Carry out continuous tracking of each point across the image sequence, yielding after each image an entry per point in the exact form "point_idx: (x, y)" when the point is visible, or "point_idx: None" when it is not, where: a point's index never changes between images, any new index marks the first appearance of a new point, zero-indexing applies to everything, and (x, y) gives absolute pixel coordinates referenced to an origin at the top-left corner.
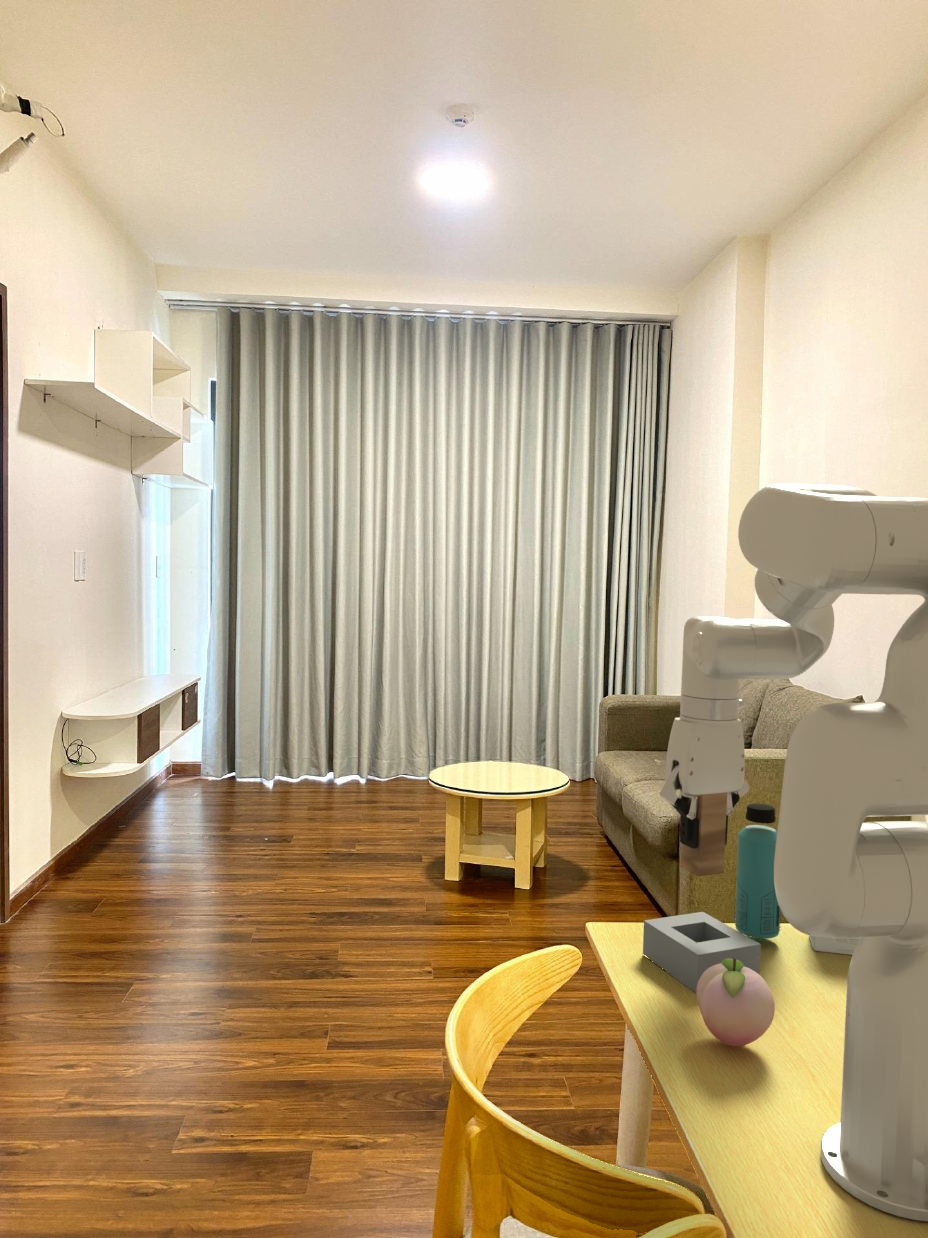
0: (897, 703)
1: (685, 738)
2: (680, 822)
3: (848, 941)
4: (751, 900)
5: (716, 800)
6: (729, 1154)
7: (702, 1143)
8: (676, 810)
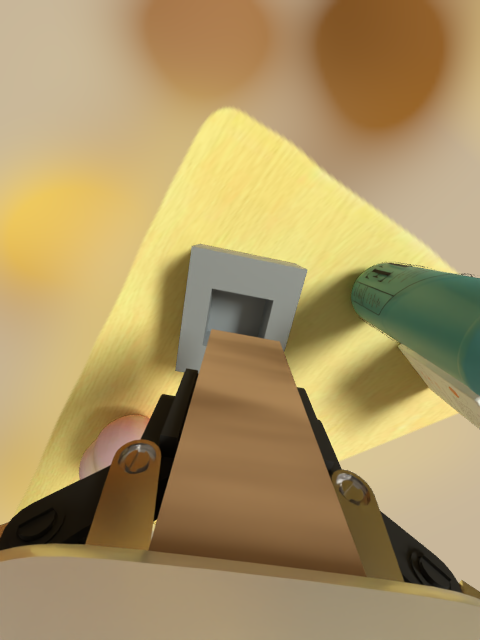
0: None
1: None
2: (144, 431)
3: (427, 380)
4: (377, 318)
5: None
6: (45, 494)
7: (35, 482)
8: (116, 453)
